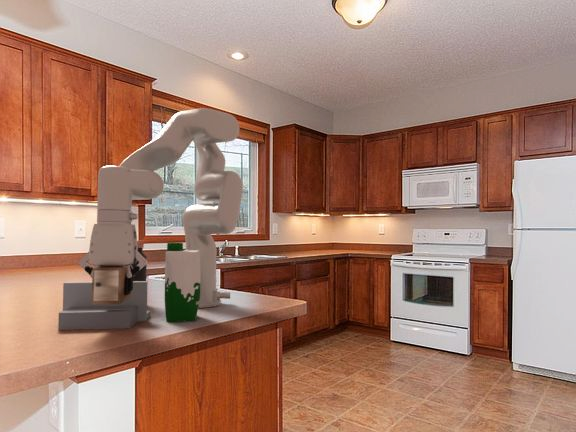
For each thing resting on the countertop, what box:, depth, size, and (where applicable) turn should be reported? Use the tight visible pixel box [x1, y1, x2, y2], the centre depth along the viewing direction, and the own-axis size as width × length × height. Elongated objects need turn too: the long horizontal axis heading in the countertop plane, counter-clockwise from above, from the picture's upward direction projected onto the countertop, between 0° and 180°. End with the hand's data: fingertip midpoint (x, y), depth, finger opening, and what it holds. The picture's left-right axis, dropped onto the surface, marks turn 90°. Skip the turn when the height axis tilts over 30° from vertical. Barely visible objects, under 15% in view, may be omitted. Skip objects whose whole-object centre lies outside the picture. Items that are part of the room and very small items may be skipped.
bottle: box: [131, 240, 148, 281], centre depth 120 cm, size 7×7×20 cm
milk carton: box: [164, 242, 201, 323], centre depth 103 cm, size 9×9×20 cm
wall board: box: [57, 280, 151, 331], centre depth 98 cm, size 20×12×10 cm, turn 98°
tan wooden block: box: [92, 266, 131, 305], centre depth 92 cm, size 6×10×8 cm, turn 8°
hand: (112, 293), depth 92 cm, fingers closed on tan wooden block, 6 cm apart
